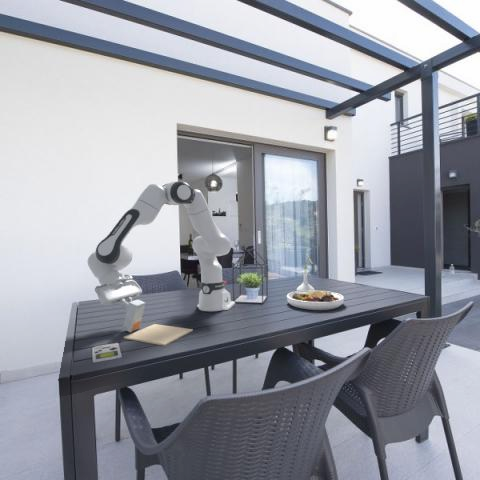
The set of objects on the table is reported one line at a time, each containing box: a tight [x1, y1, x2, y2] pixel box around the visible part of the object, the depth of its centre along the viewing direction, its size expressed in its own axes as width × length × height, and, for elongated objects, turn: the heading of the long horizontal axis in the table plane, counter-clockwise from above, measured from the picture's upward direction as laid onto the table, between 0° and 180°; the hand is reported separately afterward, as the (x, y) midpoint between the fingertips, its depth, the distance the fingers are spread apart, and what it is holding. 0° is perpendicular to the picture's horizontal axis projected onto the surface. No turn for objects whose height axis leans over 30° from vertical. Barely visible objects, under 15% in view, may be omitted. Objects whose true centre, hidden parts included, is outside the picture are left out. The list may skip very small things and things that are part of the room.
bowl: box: [286, 289, 345, 311], centre depth 171 cm, size 30×30×8 cm
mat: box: [123, 323, 194, 347], centre depth 126 cm, size 18×20×1 cm
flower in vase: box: [296, 253, 315, 291], centre depth 203 cm, size 13×11×25 cm
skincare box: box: [122, 299, 146, 333], centre depth 132 cm, size 6×4×12 cm
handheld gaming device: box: [92, 342, 123, 364], centre depth 109 cm, size 9×1×15 cm
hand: (130, 307), depth 133 cm, fingers closed
